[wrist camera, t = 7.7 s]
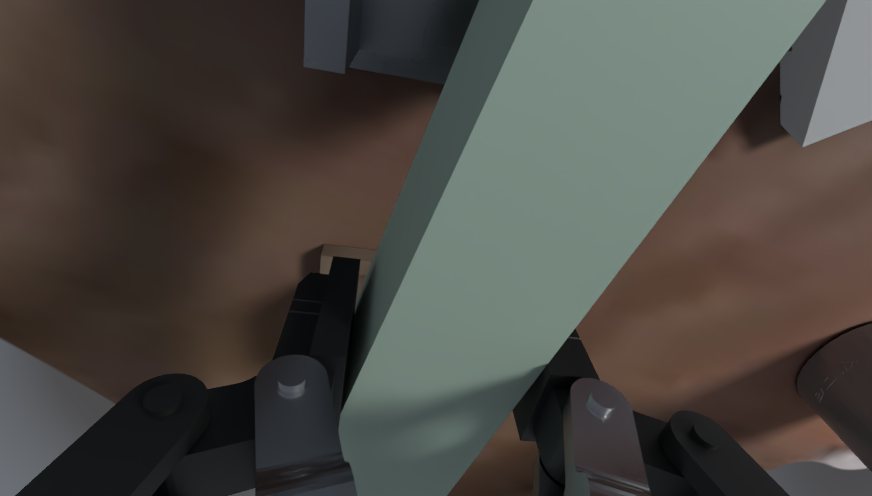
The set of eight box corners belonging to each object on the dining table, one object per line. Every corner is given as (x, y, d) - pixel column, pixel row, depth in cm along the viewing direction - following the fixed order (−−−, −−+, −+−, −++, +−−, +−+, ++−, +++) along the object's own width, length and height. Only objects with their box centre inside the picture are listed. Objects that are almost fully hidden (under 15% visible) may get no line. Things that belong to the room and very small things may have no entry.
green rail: (794, -221, 7) (1116, -379, 4) (363, 500, 19) (354, 615, 15) (625, -358, 7) (859, -701, 3) (279, 487, 18) (250, 607, 15)
